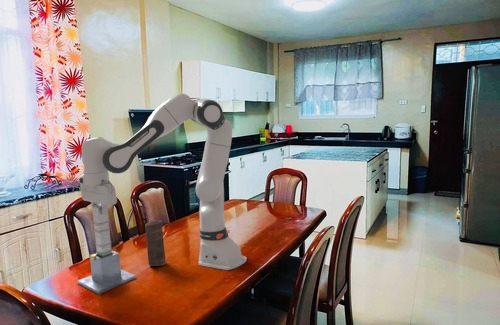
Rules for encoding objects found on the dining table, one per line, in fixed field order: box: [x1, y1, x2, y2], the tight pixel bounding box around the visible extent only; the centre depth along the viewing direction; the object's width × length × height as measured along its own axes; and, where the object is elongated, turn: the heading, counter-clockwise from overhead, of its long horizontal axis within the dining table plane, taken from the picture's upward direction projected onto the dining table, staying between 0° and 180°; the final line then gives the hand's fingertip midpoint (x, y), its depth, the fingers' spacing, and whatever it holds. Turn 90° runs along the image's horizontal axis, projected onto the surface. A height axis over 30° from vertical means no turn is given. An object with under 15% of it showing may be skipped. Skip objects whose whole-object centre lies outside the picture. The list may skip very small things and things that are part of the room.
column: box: [91, 204, 113, 258], centre depth 139 cm, size 4×4×22 cm
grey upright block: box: [144, 219, 167, 267], centre depth 154 cm, size 8×7×20 cm
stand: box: [77, 250, 137, 295], centre depth 141 cm, size 16×16×12 cm
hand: (100, 213), depth 139 cm, fingers closed on column, 4 cm apart
